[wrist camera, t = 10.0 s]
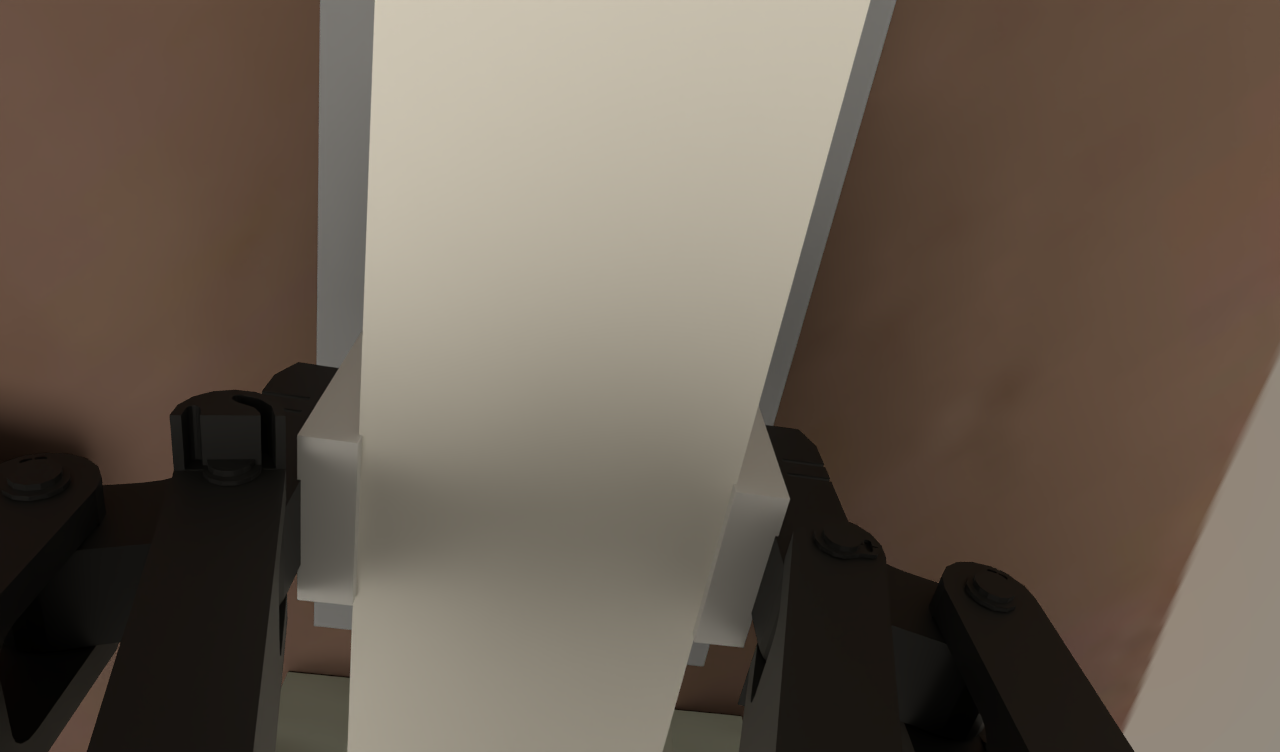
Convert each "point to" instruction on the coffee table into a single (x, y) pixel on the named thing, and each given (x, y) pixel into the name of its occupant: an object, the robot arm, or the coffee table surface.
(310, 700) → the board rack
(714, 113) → the shelf board
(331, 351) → the peg stand
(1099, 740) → the robot arm
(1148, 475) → the coffee table surface
